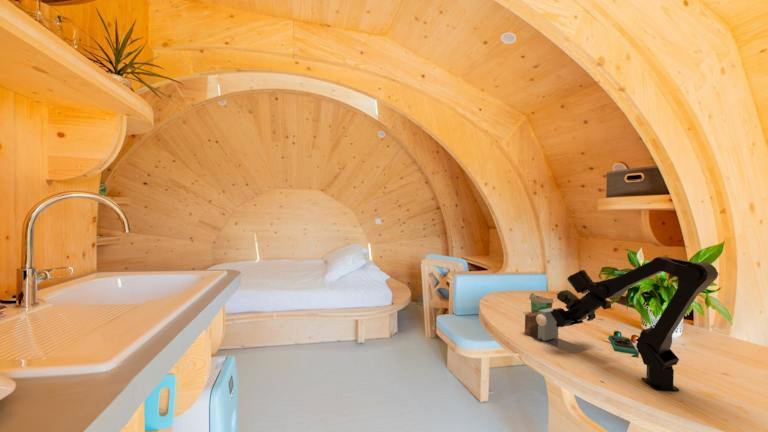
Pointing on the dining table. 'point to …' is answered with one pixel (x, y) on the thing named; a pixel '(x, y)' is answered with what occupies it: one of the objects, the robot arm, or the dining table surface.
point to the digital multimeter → (623, 345)
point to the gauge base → (560, 344)
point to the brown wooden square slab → (531, 324)
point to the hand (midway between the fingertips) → (558, 325)
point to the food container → (540, 303)
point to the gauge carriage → (546, 325)
